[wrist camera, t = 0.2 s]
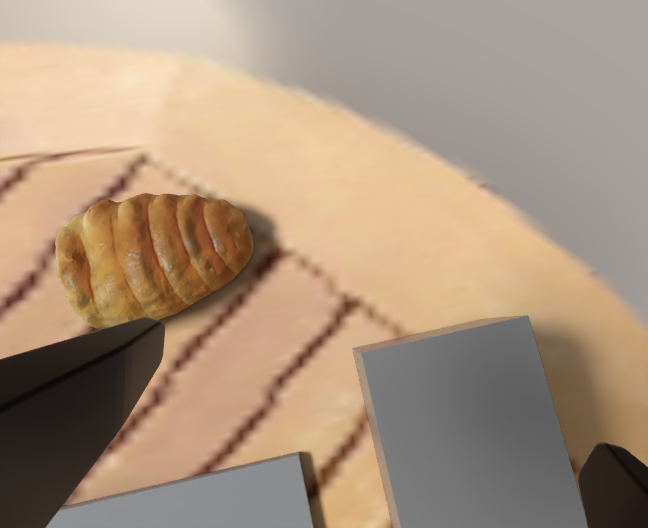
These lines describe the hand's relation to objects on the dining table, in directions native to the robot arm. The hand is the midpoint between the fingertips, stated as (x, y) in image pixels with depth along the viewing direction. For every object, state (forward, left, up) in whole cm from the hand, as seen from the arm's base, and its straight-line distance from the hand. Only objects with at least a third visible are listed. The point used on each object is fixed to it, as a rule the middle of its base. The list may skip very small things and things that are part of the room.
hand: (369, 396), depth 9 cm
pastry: (+7, +9, -15) cm, 19 cm away
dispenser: (-6, -4, -15) cm, 16 cm away
